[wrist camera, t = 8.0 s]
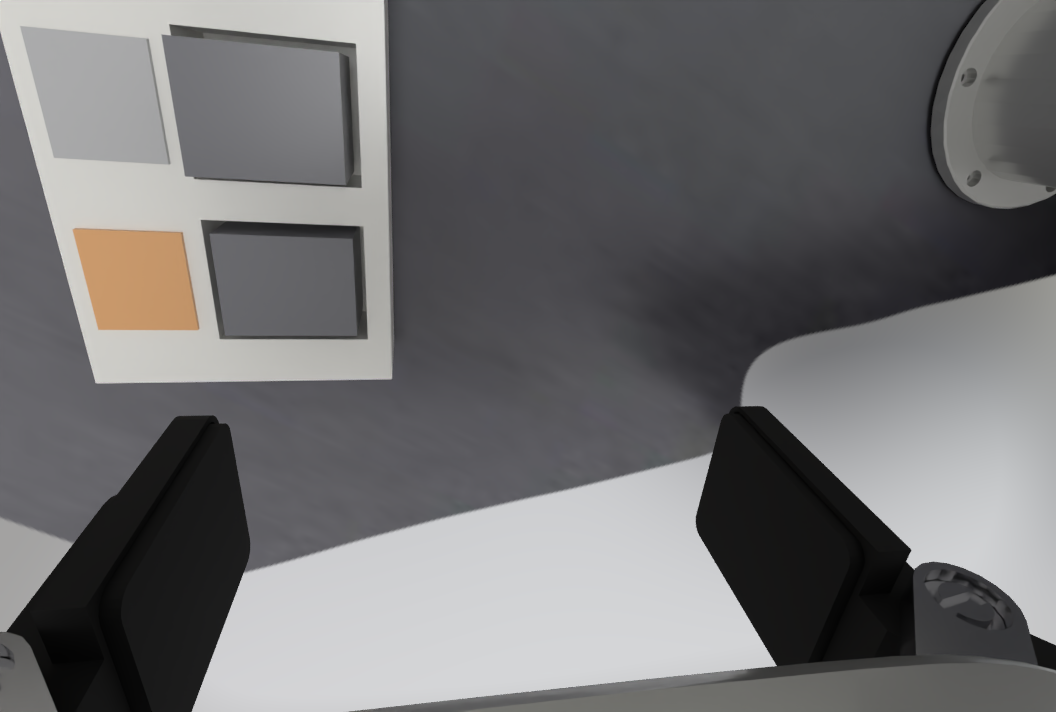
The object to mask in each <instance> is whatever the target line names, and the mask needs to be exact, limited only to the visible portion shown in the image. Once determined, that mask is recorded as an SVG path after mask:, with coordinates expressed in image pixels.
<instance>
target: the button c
mask: <svg viewBox="0 0 1056 712" xmlns="http://www.w3.org/2000/svg"><path fill="white" fill-rule="evenodd" d="M209 235H210V242H211V248H212V255H213V261H214V267H215V274H216V280H217V287H218V293H219V299H220V306H221V312H222V319H223V325H224V331H225V336H357V334H358V329H359V324H360V319H361V315H362V310H363V292H362V268H361V245H360V226H343V225H318V224H294V223H269V222H244V221H226V222H224V223H223V224H222V225H220V226H219V227H218V228H216V229H215V230H214V231H212V232H211V233H210V234H209Z"/></svg>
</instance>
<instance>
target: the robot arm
mask: <svg viewBox="0 0 1056 712" xmlns="http://www.w3.org/2000/svg"><path fill="white" fill-rule="evenodd" d="M931 141H932V153H933V156H934V159H935V163H936V166H937V169H938V172H939V173H940V175H941V177H942V178H943V180H944V182H945V183H946V185H947V186H948V187H949V188H950V189H951V190H952V191H953V192H954V193H955V194H956V195H957V196H959V197H961V198H963V199H965V200H967V201H969V202H971V203H973V204H978V205H982V206H986V207H990V208H1002V209H1012V208H1018V207H1024V206H1029V205H1031V204H1034V203H1037V202H1039V201H1042V200H1045V199H1047V198H1049V197H1051V196H1053V195H1054V194H1056V0H986V1H985V2H984V3H983V4H982V5H981V7H980V8H979V9H978V11H977V12H976V13H975V15H974V16H973V18H972V19H971V20H970V22H969V23H968V25H967V26H966V27H965V29H964V30H963V32H962V34H961V35H960V37H959V39H958V41H957V43H956V45H955V46H954V48H953V50H952V52H951V54H950V56H949V58H948V60H947V63H946V66H945V68H944V71H943V73H942V76H941V78H940V81H939V84H938V88H937V92H936V96H935V101H934V105H933V111H932V122H931ZM696 527H697V531H698V533H699V536H700V537H701V539H702V541H703V542H704V544H705V546H706V547H707V549H708V551H709V552H710V554H711V556H712V558H713V559H714V561H715V563H716V564H717V566H718V567H719V569H720V571H721V573H722V574H723V576H724V578H725V579H726V581H727V583H728V584H729V586H730V588H731V590H732V591H733V593H734V595H735V596H736V598H737V600H738V601H739V603H740V605H741V606H742V608H743V610H744V611H745V613H746V615H747V616H748V618H749V620H750V621H751V623H752V625H753V627H754V628H755V630H756V632H757V633H758V635H759V637H760V638H761V640H762V642H763V643H764V645H765V647H766V648H767V650H768V652H769V653H770V655H771V657H772V658H773V660H774V662H775V663H776V665H777V666H775V667H765V668H755V669H745V670H735V671H724V672H715V673H704V674H694V675H686V676H685V675H684V676H674V677H666V678H656V679H646V680H637V681H626V682H617V683H608V684H598V685H588V686H579V687H569V688H560V689H551V690H542V691H532V692H523V693H513V694H504V695H495V696H486V697H476V698H467V699H458V700H450V701H440V702H431V703H422V704H414V705H405V706H396V707H386V708H378V709H369V710H360V711H351V712H1056V645H1054V644H1051V643H1049V642H1047V641H1045V640H1042V639H1040V638H1038V637H1036V636H1033V635H1031V634H1030V633H1029V629H1028V625H1027V621H1026V619H1025V617H1024V615H1023V613H1022V611H1021V609H1020V608H1019V607H1018V606H1017V605H1016V603H1015V602H1014V601H1013V600H1012V599H1011V598H1010V597H1009V596H1008V595H1007V594H1005V593H1004V592H1003V591H1002V590H1001V589H999V588H998V587H997V586H996V585H994V584H992V583H991V582H989V581H988V580H986V579H984V578H983V577H981V576H979V575H977V574H975V573H973V572H971V571H968V570H966V569H964V568H960V567H958V566H954V565H951V564H947V563H939V562H929V563H923V564H921V565H919V566H918V567H917V568H915V570H914V569H913V568H912V567H911V566H910V565H909V564H908V563H907V562H906V560H907V558H908V556H909V554H910V552H911V549H910V548H909V547H908V546H907V545H906V544H905V543H904V542H903V541H902V540H901V539H900V538H899V537H898V536H897V535H896V534H894V532H892V531H891V530H890V529H889V528H888V527H887V526H886V525H885V524H884V523H883V522H882V521H881V520H880V519H879V518H878V517H877V516H876V515H875V514H874V513H873V512H872V511H871V510H870V509H869V508H868V507H867V506H866V505H865V504H864V503H863V502H862V501H861V500H860V499H859V498H858V497H856V496H855V494H853V493H852V492H851V491H850V490H849V489H848V488H847V487H846V486H845V485H844V484H843V483H842V482H841V481H840V480H839V479H838V478H837V477H836V476H835V475H834V474H833V473H832V472H831V471H830V470H829V469H828V468H827V467H826V466H825V465H824V464H823V463H822V462H821V461H819V459H818V458H817V457H815V456H814V455H813V454H812V453H811V452H810V451H809V450H808V449H807V448H806V447H805V446H804V445H803V444H802V443H801V442H800V441H799V440H798V439H797V438H796V437H795V436H794V435H793V434H792V433H791V432H790V431H789V430H788V429H787V428H786V427H784V426H783V424H782V423H780V422H779V421H778V419H776V418H775V417H774V416H773V415H772V414H771V413H770V412H769V411H768V410H767V409H766V408H764V407H761V406H748V407H747V406H745V407H734V408H732V409H731V411H730V412H729V414H726V415H724V416H723V418H722V420H721V423H720V427H719V431H718V435H717V439H716V442H715V446H714V450H713V454H712V458H711V461H710V465H709V469H708V473H707V477H706V481H705V484H704V488H703V492H702V496H701V499H700V503H699V507H698V511H697V515H696ZM249 554H250V538H249V532H248V526H247V521H246V515H245V510H244V504H243V499H242V493H241V487H240V482H239V476H238V471H237V465H236V460H235V454H234V448H233V443H232V437H231V432H230V428H229V426H228V425H227V424H219V422H218V420H217V418H216V417H215V416H178V417H176V418H175V419H174V420H173V421H172V422H171V424H170V425H169V426H168V428H167V429H166V430H165V432H164V433H163V434H162V436H161V437H160V438H159V440H158V441H157V442H156V444H155V445H154V446H153V448H152V449H151V450H150V452H149V453H148V454H147V456H146V457H145V458H144V460H143V461H142V462H141V464H140V465H139V466H138V468H137V469H136V470H135V472H134V473H133V474H132V476H131V477H130V478H129V480H128V481H127V482H126V484H125V485H124V486H123V488H122V489H121V490H120V492H119V493H118V494H117V495H115V496H113V497H111V498H110V499H109V500H108V501H107V502H106V503H105V504H104V505H103V506H102V507H101V509H100V510H99V511H98V513H97V514H96V515H95V516H94V518H93V519H92V520H91V522H90V523H89V524H88V526H87V527H86V528H85V530H84V531H83V532H82V533H81V535H80V536H79V537H78V539H77V540H76V541H75V543H74V544H73V545H72V547H71V548H70V549H69V550H68V552H67V553H66V554H65V556H64V557H63V558H62V560H61V561H60V562H59V564H58V565H57V566H56V568H55V569H54V570H53V571H52V573H51V574H50V575H49V577H48V578H47V579H46V581H45V582H44V583H43V584H42V586H41V587H40V588H39V590H38V591H37V592H36V594H35V595H34V596H33V598H32V599H31V600H30V602H29V603H28V604H27V605H26V607H25V608H24V609H23V611H22V612H21V613H20V615H19V616H18V617H17V618H16V620H15V621H14V623H13V624H12V625H11V626H10V628H9V629H8V630H7V632H0V712H192V709H193V706H194V704H195V701H196V698H197V695H198V693H199V690H200V687H201V685H202V682H203V679H204V677H205V674H206V672H207V669H208V666H209V663H210V661H211V658H212V655H213V653H214V650H215V648H216V645H217V642H218V639H219V637H220V634H221V632H222V629H223V626H224V624H225V621H226V618H227V616H228V613H229V610H230V608H231V605H232V602H233V600H234V597H235V594H236V592H237V589H238V586H239V583H240V581H241V578H242V576H243V573H244V570H245V568H246V565H247V562H248V559H249Z"/></svg>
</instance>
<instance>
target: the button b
mask: <svg viewBox="0 0 1056 712" xmlns="http://www.w3.org/2000/svg"><path fill="white" fill-rule="evenodd" d="M161 35H162V34H161ZM162 41H163V47H164V53H165V59H166V65H167V71H168V77H169V83H170V89H171V95H172V101H173V107H174V113H175V119H176V125H177V131H178V137H179V143H180V149H181V155H182V161H183V167H184V173H185V176H186V177H205V178H223V179H241V180H260V181H278V182H296V183H315V184H333V185H346V184H347V182H348V181H349V179H350V177H351V176H352V174H353V173H354V154H353V132H352V110H351V87H350V65H349V57H348V56H346V55H344V54H341V53H339V52H330V51H321V50H311V49H301V48H291V47H281V46H271V45H261V44H251V43H241V42H231V41H221V40H211V39H201V38H191V37H181V36H172V35H162Z"/></svg>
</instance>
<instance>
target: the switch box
mask: <svg viewBox="0 0 1056 712" xmlns="http://www.w3.org/2000/svg"><path fill="white" fill-rule="evenodd" d="M0 32H1V36H2V39H3V43H4V47H5V50H6V54H7V58H8V62H9V65H10V69H11V73H12V76H13V80H14V84H15V87H16V91H17V95H18V98H19V102H20V106H21V109H22V113H23V117H24V120H25V124H26V128H27V131H28V135H29V139H30V143H31V146H32V150H33V154H34V157H35V161H36V165H37V168H38V172H39V176H40V179H41V183H42V187H43V190H44V194H45V198H46V201H47V205H48V209H49V212H50V216H51V220H52V223H53V227H54V231H55V235H56V238H57V242H58V246H59V249H60V253H61V257H62V260H63V264H64V268H65V271H66V275H67V279H68V282H69V286H70V290H71V293H72V297H73V301H74V304H75V308H76V312H77V315H78V319H79V323H80V327H81V330H82V334H83V338H84V341H85V345H86V349H87V352H88V356H89V360H90V363H91V367H92V371H93V374H94V378H95V382H96V383H157V382H231V381H304V380H378V379H392V371H393V353H394V300H393V246H392V192H391V138H390V84H389V30H388V0H0ZM161 34H162V35H172V36H181V37H191V38H201V39H211V40H221V41H231V42H241V43H251V44H261V45H271V46H281V47H291V48H301V49H311V50H321V51H330V52H339V53H341V54H344V55H346V56H348V57H349V65H350V87H351V110H352V132H353V154H354V173H353V174H352V176H351V177H350V179H349V181H348V182H347V184H346V185H333V184H315V183H296V182H278V181H260V180H241V179H223V178H205V177H186V176H185V173H184V167H183V161H182V155H181V149H180V143H179V137H178V131H177V125H176V119H175V113H174V107H173V101H172V95H171V89H170V83H169V77H168V71H167V65H166V59H165V53H164V47H163V41H162V35H161ZM226 221H244V222H269V223H294V224H318V225H343V226H360V245H361V268H362V292H363V310H362V315H361V319H360V324H359V329H358V334H357V336H225V331H224V325H223V319H222V312H221V306H220V299H219V293H218V287H217V280H216V274H215V267H214V261H213V255H212V248H211V242H210V235H209V234H210V233H211V232H212V231H214V230H215V229H216V228H218V227H219V226H220V225H222V224H223V223H224V222H226Z"/></svg>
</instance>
